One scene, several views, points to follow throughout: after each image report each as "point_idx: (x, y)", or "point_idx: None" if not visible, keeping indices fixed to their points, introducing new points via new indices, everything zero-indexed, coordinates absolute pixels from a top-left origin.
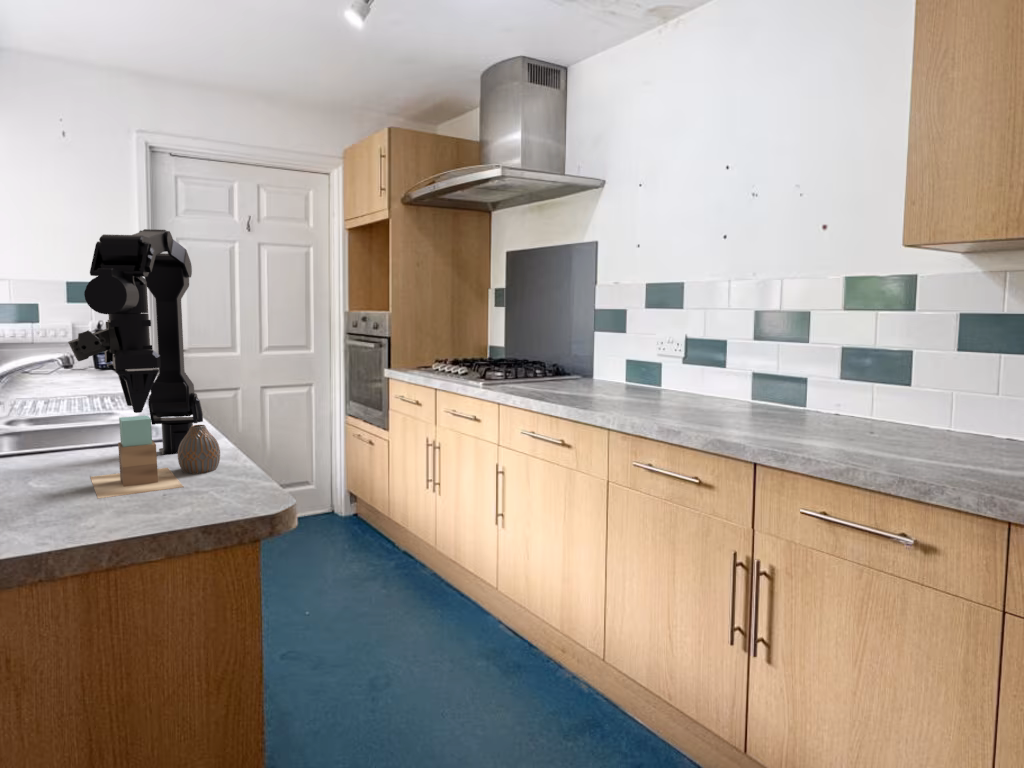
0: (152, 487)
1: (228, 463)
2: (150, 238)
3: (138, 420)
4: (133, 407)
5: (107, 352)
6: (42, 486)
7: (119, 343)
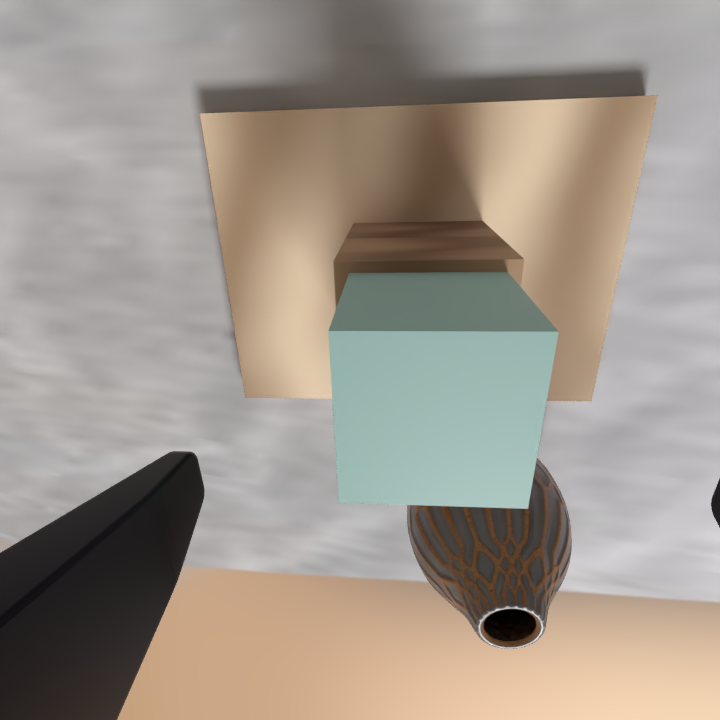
0: (285, 313)
1: (573, 555)
2: None
3: (336, 434)
4: (130, 477)
5: None
6: None
7: None
